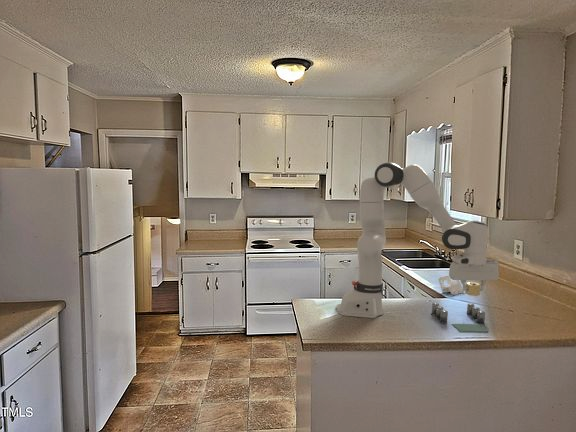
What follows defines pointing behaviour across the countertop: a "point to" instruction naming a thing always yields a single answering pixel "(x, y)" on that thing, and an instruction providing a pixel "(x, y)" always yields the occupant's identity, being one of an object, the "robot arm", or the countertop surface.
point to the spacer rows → (471, 311)
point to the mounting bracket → (450, 286)
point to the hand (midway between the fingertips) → (472, 290)
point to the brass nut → (473, 289)
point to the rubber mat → (469, 328)
